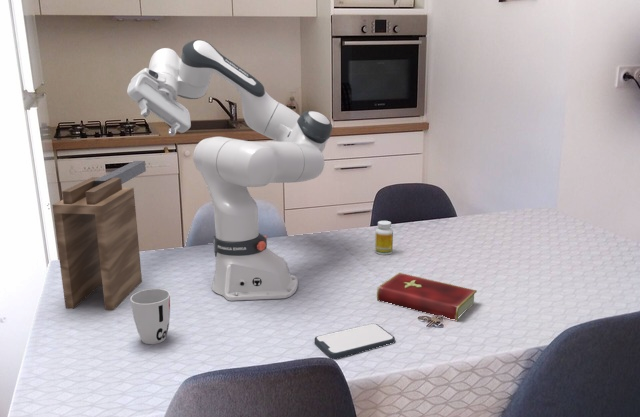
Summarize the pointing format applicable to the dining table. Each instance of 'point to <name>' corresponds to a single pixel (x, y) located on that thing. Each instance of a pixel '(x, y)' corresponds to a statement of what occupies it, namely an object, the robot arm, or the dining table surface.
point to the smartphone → (353, 340)
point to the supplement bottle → (383, 238)
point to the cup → (151, 314)
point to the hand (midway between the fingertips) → (158, 124)
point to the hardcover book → (426, 295)
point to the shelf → (97, 241)
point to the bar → (123, 173)
